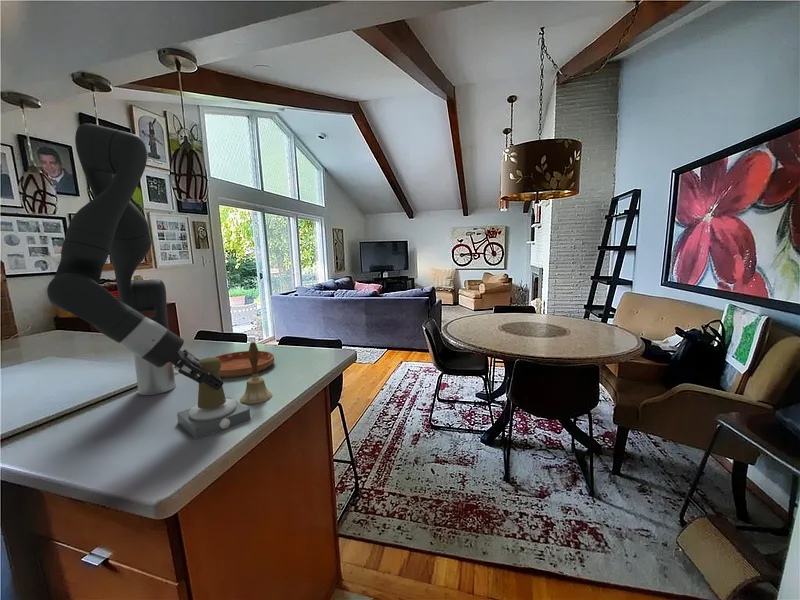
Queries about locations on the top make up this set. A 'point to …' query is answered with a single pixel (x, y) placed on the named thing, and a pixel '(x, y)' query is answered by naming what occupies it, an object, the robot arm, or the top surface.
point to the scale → (213, 418)
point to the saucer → (242, 363)
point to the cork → (206, 393)
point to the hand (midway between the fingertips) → (219, 383)
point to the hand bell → (255, 381)
